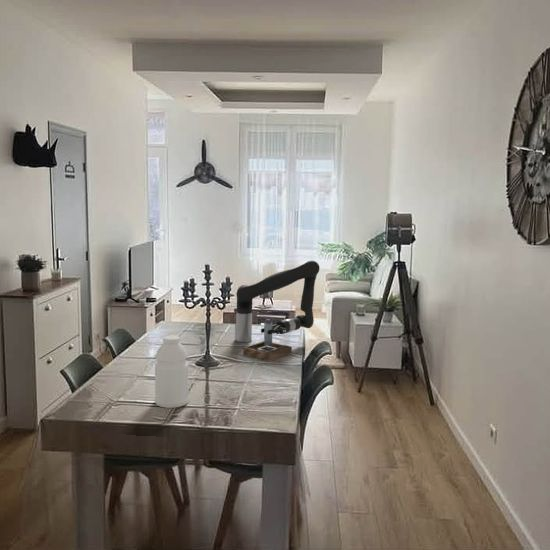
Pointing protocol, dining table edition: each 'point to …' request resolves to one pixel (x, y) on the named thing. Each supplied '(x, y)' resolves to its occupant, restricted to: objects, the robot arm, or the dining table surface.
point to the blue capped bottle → (267, 336)
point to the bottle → (171, 374)
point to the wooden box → (267, 351)
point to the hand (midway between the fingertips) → (264, 331)
